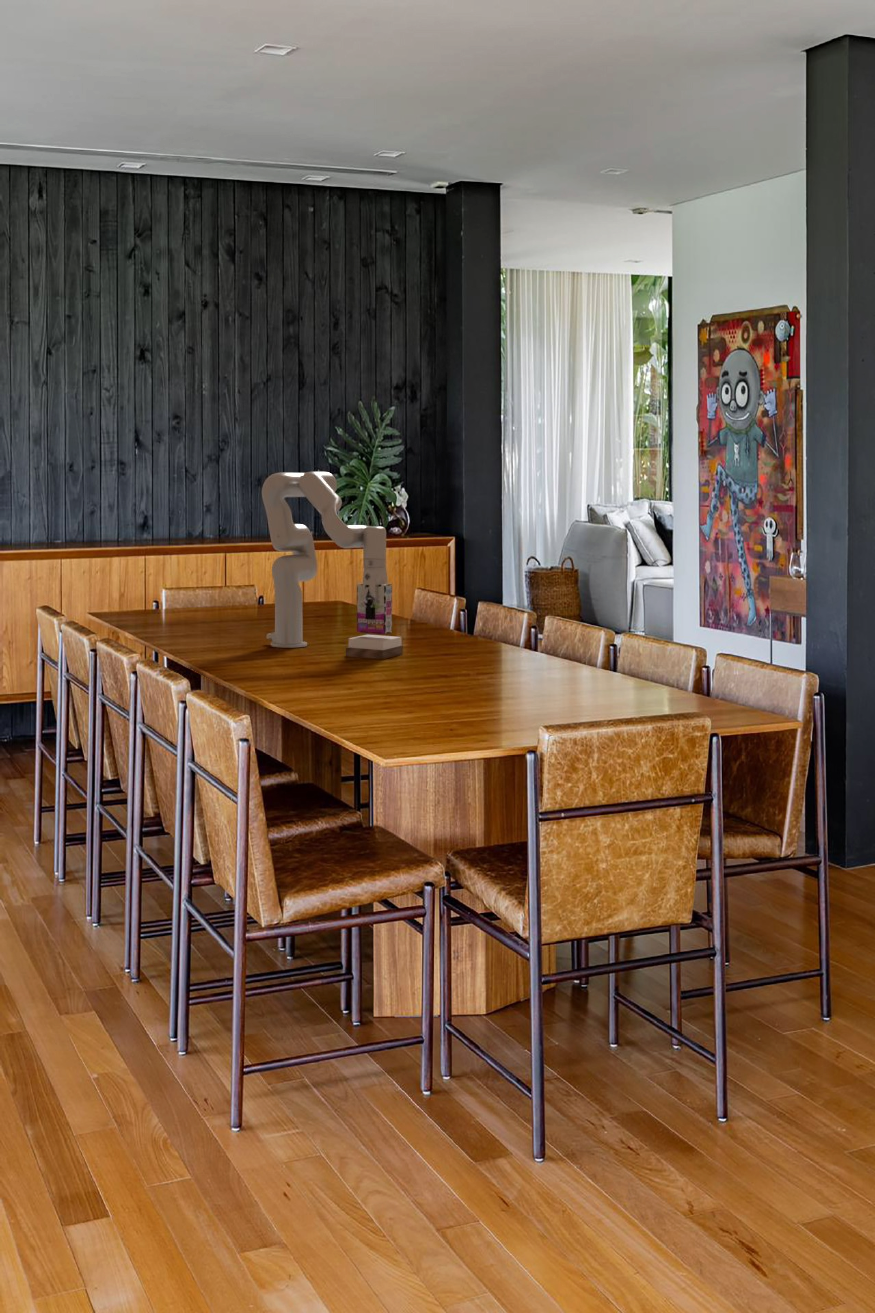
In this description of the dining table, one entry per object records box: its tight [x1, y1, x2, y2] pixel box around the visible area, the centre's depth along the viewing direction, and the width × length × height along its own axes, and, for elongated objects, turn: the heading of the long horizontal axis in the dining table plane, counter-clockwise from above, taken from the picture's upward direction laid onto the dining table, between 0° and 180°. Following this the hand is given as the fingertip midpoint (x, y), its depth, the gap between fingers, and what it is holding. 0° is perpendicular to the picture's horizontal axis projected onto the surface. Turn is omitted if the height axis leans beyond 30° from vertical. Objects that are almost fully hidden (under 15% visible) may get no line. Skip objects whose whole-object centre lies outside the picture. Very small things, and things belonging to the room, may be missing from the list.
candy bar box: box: [356, 582, 393, 635], centre depth 470 cm, size 11×5×16 cm, turn 62°
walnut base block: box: [345, 645, 404, 660], centre depth 472 cm, size 14×14×4 cm
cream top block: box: [348, 634, 402, 650], centre depth 472 cm, size 13×13×3 cm
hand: (374, 617), depth 471 cm, fingers closed on candy bar box, 5 cm apart
